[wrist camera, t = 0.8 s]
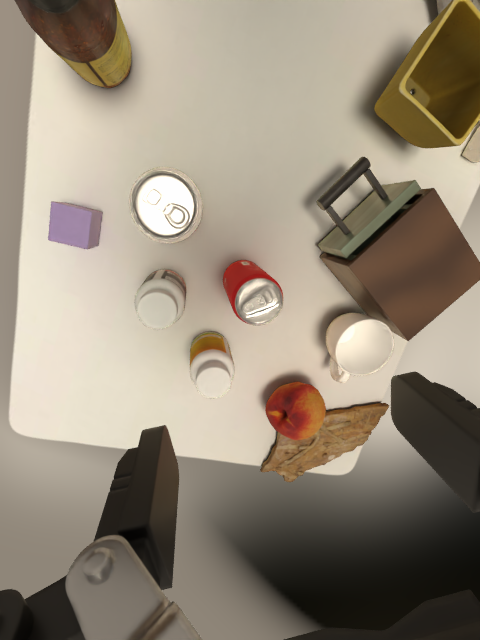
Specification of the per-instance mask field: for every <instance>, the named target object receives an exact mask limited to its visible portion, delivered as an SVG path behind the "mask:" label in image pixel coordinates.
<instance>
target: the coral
mask: <svg viewBox="0 0 480 640" xmlns="http://www.w3.org/2000/svg"><path fill="white" fill-rule="evenodd" d="M451 1H452V0H437V8H438V14H440V13H441V12H442V11H443V10H444V9H445V8H446V7H447V5H448V4H449V3H450V2H451ZM471 2H472V3H473V4H474V5H475V7H476V8H477V9H478V10H479V12H480V0H471Z"/></svg>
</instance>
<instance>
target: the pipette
mask: <svg viewBox="0 0 480 640" xmlns="http://www.w3.org/2000/svg"><path fill="white" fill-rule="evenodd" d="M462 156H464V157H466V158H467V159H469V160H470V161H471V162H480V126H479V127H478V129H477V130H476V132H475V133H474V135H473V136H472V138H471V140H470V141H469V143H468V145H467V147H466V148H465V150H464V152H463V154H462Z"/></svg>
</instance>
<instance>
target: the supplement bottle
mask: <svg viewBox="0 0 480 640" xmlns="http://www.w3.org/2000/svg"><path fill="white" fill-rule="evenodd" d="M190 376H191V379H192V381H193V383H194V384H195V385H196V388H197V390H198V392H199V393H200V394H201V395H202V396H204V397H206V398H211V399H215V398H219V397H222V396H223V395H225V394H226V393H227V392H228V391H229V389H230V387H231V381H232V379H233V376H234V363H233V359H232V356H231V352H230V347H229V344H228V342H227V340H226V339H225V338H224V337H223V336H222V335H221V334H219V333H216V332H205V333H202V334H200V335H198V336H197V337H196V338H195V339H194V341H193V342H192V345H191V349H190Z"/></svg>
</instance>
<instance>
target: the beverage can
mask: <svg viewBox="0 0 480 640" xmlns="http://www.w3.org/2000/svg"><path fill="white" fill-rule="evenodd" d="M223 285H224V288H225V291H226V293H227V296H228V298H229V301H230V303H231V306H232V308H233V311H234V313H235V314H236V316H237V317H238V318H239V319H240V320H242V321H243V322H245V323H248V324H251V325H264V324H267V323H269V322H271V321H272V320H274V319H275V318H276V317H277V316H278V314H279V313H280V311H281V309H282V305H283V293H282V289H281V287H280V285H279V284H278V283H277V282H276V281H275V280H274V279H273V278H272V277H271V276H269V275H268V274H267V273H266V272H265V271H263V270H262V269H261V268H260V267H258V266H257V265H256V264H255V263H253V262H251V261H247V260H240V261H236V262H234V263H232V264H231V265H230V266H229V267H228V268H227V269H226V271H225V273H224V276H223Z"/></svg>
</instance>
